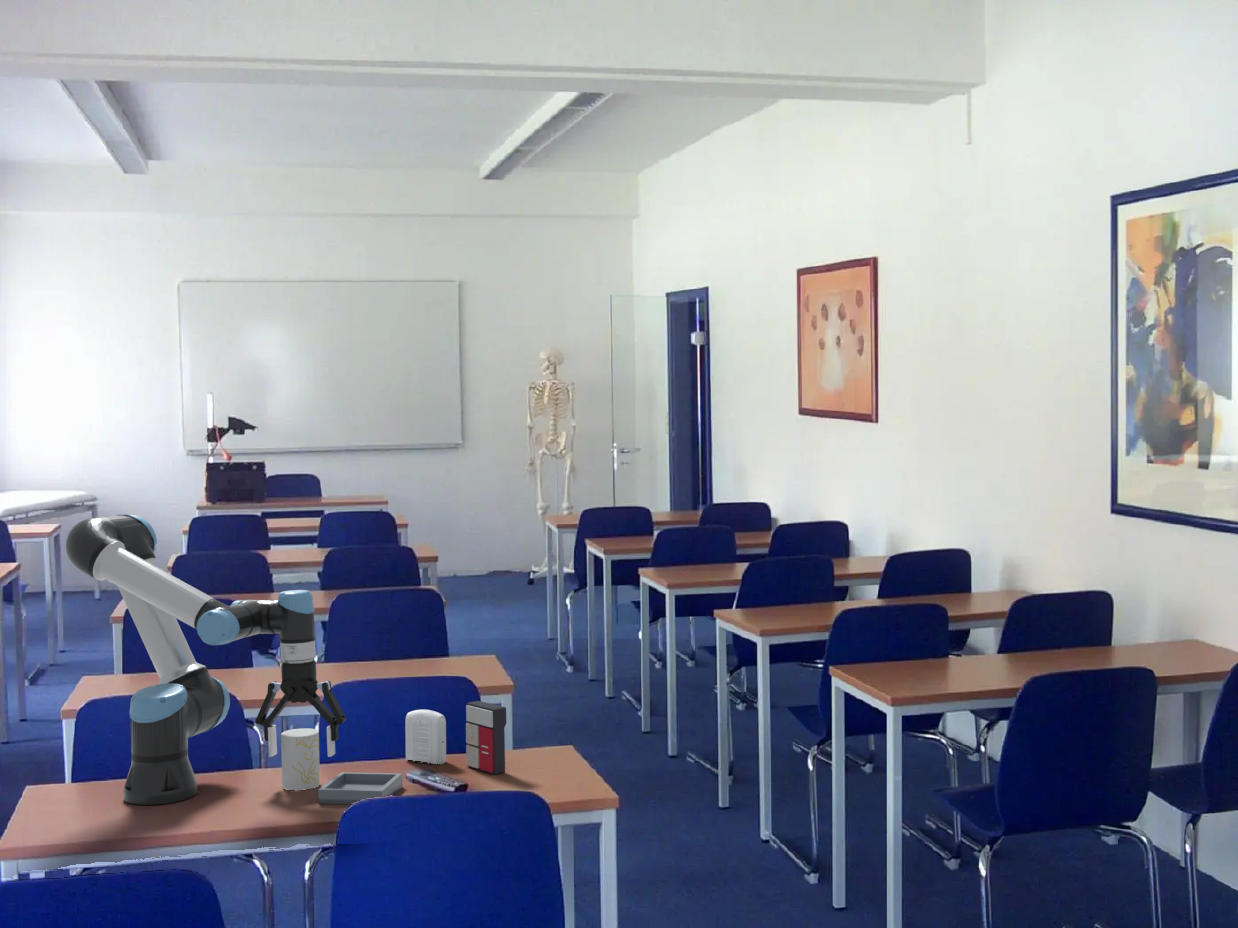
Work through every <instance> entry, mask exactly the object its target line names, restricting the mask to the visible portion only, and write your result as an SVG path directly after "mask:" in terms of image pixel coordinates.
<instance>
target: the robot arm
mask: <svg viewBox="0 0 1238 928" xmlns="http://www.w3.org/2000/svg"><path fill="white" fill-rule="evenodd" d="M157 543H158V541H157V534H156V532H155V530H154V528H153V526H152V524H150V523H149V522H148V521H147V520H146V519H144V518H143V517H141V516H139V515H135V514H127V513H126V514H125V513H124V514H122V513H121V514H115V515H110V516H100V517H89V518H86V519H83V520H81V521H80V522H78V523H76V524H75V525H74V526H73V527H72V528H71V530H70V531H69V532H68V534H67V537H66V540H65V552H66V554H67V557H68V559H69V560H70V562H71V564H73V565H74V566H75V567H76V568H77V569H78V570H80V571H81V572H82V573H84V574H85V575H88V576H89V577H90V578H93V579H95V580H96V581H100V582H102V581H107V582H109V583H111V584H114V585H116V587H117V589H118V590H119V592H120V595H121V597H122V599H123V601H124V604H125V605H126V608H127V610H128V612H129V614H130V616H131V618H132V621H133V623H134V626H135V627H136V629H137V632H138V634H139V636H140V638H141V640H142V643H143V644H144V648H145V649H146V652H147V654H148V657H149V658H150V661H151V662H152V665H153V667H154V669H155V671H156V673H157V676H158V677H159V682H158V684H155V685H150V686H146V687H143V688H141V689H139V690H137V691H136V692H135V693H134V694H132V696H131V699H130V705H129V706H130V708H129V713H128V714H129V719H130V720H129V723H130V748H131V749H130V750H131V762H130V763H131V764H130V767H129V771H128V774H127V777H126V781H125V784H124V787H123V801H125V803H129V804H131V805H141V806H151V805H153V806H154V805H164V804H171V803H177V802H180V801H184V800H187V799H190V798H192V797H194V796H196V794H197V793H198V782H197V778H196V776H195V773H194V770H193V767H192V764H191V762H190V760H189V751H188V750H189V744H188V743H189V742H188V739H189V738H192V737H194V736H196V735H199V734H202V733H207V732H208V731H211V730H213V729H214V728H215V727H216V726H218V725H220V724H221V723H222V722H223V721H224V720H225V718H226V716H227V715H228V712H229V709H230V705H231V699H230V698H231V697H230V694H229V691H228V688H227V686H226V685H225V684H224V683H223V681H222V680H221V679H217V678H216V677H213V676H211V675H210V673H209V670H208V668H207V666H206V665H203V664H201V663H198V662H197V661H196V659H195V656H194V655H193V652H192V650H191V648H190V646H189V644H188V641H187V639H186V637H185V635H184V633H183V631H182V629H181V626H180V624H179V621H181V622H182V623H184V624H186V625H188V626H190V627H192V628H193V629H195V630H196V632H197V635H198V636H199V638H200V639H201V641H202V642H203V643H205V644H207V645H209V646H222V645H227V644H229V643H232V642H234V641H238V640H240V639H245V638H248V637H253V636H256V635H260V634H261V635H264V634H265V635H266V634H270V635H271V634H272V635H273V634H276V635H277V634H279V641H280V659H281V660H282V662H281V663H280V669H281V670H280V671H281V672H280V673H281V674H280V675H281V682H277V681H276V680H273V681H272V682H269V683H268V684H267V694H266V695H265V698H264V700H263V703H262V704H261V706H260V708H259V712H258V714H257V716H256V718H255V721H254V722H255V725H261V726H262V727H263V734H264V741H265V742H268V757H269V758H271V757H272V758H273V757H274V756H276V755H277V754H278V747H277V746H278V743H277V725H276V724H274V722H275V721H276V719H277V718H278V717H279V715H280V714H281V713H282V711H283V710H284V709H285V708H286V706H287V705H288V704H289V703H291V704H295V703H301V704H302V703H303V704H305V703H307V702H308V703H309V704H310V705H312V706H313V707H314V709H315V710H316V711H317V712H318V713H319V714H320V716H321V717H322V718H323V719H324V720H325V722H326V723H327V724H328V725H327V727H326V744H327V745H326V747H327V748H326V749H327V757H328V758H329V757H330V758H331V757H333V756H334V755H335V754H336V741H338V740H339V725H342V724H343V723H345V722H346V721H347V717H346V715H345V712H344V711H343V709H342V707H341V705H340V703H339V701H338V700H337V697H336V696H335V693H334V692H333V690H332V689H333V688H332V683H331V681H330V680H326V681H323V682H318V680H317V661H316V660H315V658H316V656H317V654H316V640H315V607H314V598H313V593H312V592H311V591H310V590H308V589H307V590H306V589H295V590H293V589H292V590H291V589H290V590H284V591H281V592H279V594H278V595H277V596H278V598H277V599H272V600H271V599H251V598H250V599H249V598H247V599H238V600H235V601H233V602H232V603H231V604H230V605H227V604H225V603H223V602H221V601H219V600H217V599H215V598H214V597H212V596H211V595H208V594H207V593H206V592H203V591H201V590H199V589H198V588H196V587H194V586H192V585H190V584H188V583H186V582H185V581H183V580H182V579H180V578H177V577H176V576H174V575H172V574H171V573H169V572H167V571H165V570H164V569H162V568H160V567H157V566H156V563H157V562H158V560H157V557H156V555H155V552H156V549H157V547H156V545H157ZM178 620H179V621H178ZM318 689H319V691H320V692H321V693H322V694H323V698H324V699H325V701H326V702H327V704H325V703H324V702H323V701H322V700H321V697H320V696H319V695H318V694H317V690H318ZM280 690H281V692H282V693H283V696H282V698H281V699H280V700H279V701H278V703H277V705H276V706H275V707H274V709H273V710H272V711H271V713H270V714H269V715H268V713H269V712H270V711H269V710H270V708H271V706H272V704H273V702H274V699H275V698H276V694H277V693H278V692H279V691H280ZM327 705H328V706H329V708H330V709H329V708H328V707H327ZM267 715H268V716H267Z"/></svg>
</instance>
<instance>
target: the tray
mask: <svg viewBox="0 0 1238 928" xmlns="http://www.w3.org/2000/svg"><path fill="white" fill-rule="evenodd" d="M402 788H403V773H398V772H397V773H394V772H392V773H391V772H356V771H355V772H354V771H353V772H351V771H350V772H349V771H348V772H347V771H346V772H345V771H343V772H342V771H341V772H340V773H338V774H337V775H336V776H334V777H333V778H332V779H330V780H329V781H328V782H326V783H325V784H323V786H321V787H320V788H319V789H317V790H318V792H317V793H318V804H321V805H323V804H324V805H352V804H351V803H354V802H357V801H360V800H362V799H367V798H374V797H385V796H390V795H393V796H394V795H395V794H396V793H398V792H399V790H401V789H402Z"/></svg>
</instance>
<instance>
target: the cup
mask: <svg viewBox="0 0 1238 928" xmlns="http://www.w3.org/2000/svg"><path fill="white" fill-rule="evenodd" d="M319 733H320V732H319V730H318V729H316V728H309V727H307V728H302V727H301V728H293V729H287V730H284V731H283V732H281V733H280V741H281V746H280V747H281V787H282V789H283V788H286V789H289V790H303V789H310V788H314V789H316V787H317V786H319V785H320V786H321V784H320V783H321V781H320V778H321V777H320V776H321V774H320V773H321V772H320V771H321V769H320V734H319ZM320 786H319V787H320ZM317 788H318V787H317Z"/></svg>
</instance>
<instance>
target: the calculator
mask: <svg viewBox="0 0 1238 928" xmlns="http://www.w3.org/2000/svg"><path fill="white" fill-rule="evenodd" d="M465 712H466V713H465V716H466V717H465V718H466V719H465V720H466V723H465V743H466V745H465V748H466V749H465V750H466V751H465V752H466V753H465V754H466V755H465V756H466V758H465V759H466V760H465V761H466V762H465V763H466V765H467V767H469V768H472V769H476V770H478V771H482V772H484V773H488V774H491V775H495V776H496V775H499V774H503V773H505V772H506V749H505V748H506V746H505V745H506V743H505V742H506V741H505V740H506V739H505V738H506V737H505V735H506V734H505V728H506V725H507V708H506V706H503V705H498V704H493V703H489V702H486V701H481V700H476V701H470V702H467V703H466V704H465Z"/></svg>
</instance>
